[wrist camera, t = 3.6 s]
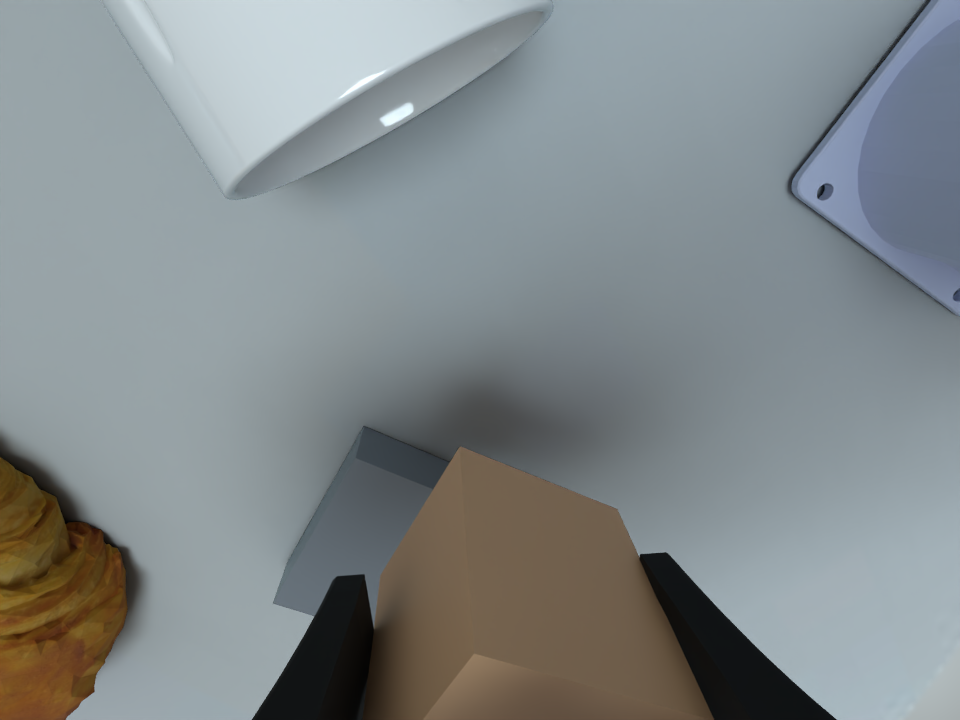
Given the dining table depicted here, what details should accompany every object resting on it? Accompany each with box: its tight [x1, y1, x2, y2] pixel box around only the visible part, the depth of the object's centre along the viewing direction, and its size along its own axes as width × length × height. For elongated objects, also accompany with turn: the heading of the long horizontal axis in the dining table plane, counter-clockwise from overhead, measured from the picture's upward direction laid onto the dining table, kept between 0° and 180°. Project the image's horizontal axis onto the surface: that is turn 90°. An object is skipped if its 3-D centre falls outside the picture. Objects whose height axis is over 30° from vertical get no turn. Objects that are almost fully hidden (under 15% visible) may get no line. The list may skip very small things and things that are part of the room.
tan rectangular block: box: [362, 446, 714, 720], centre depth 11 cm, size 4×4×5 cm
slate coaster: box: [273, 426, 450, 626], centre depth 21 cm, size 8×8×2 cm
